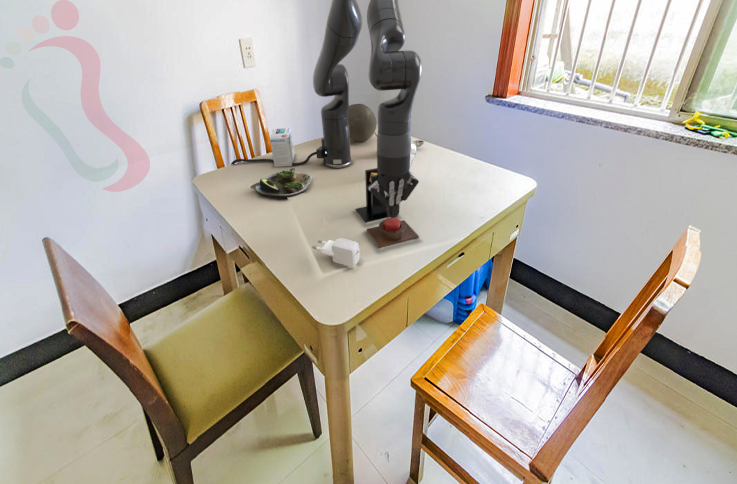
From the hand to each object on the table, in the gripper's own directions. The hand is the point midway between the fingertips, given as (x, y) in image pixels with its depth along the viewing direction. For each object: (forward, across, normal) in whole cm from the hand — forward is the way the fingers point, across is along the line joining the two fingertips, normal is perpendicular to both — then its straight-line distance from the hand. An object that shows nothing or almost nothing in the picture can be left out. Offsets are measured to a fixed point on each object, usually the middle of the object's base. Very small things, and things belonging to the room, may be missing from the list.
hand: (392, 216), depth 94 cm
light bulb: (+7, -20, -33) cm, 40 cm away
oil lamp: (+7, -27, -51) cm, 58 cm away
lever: (-2, -5, -12) cm, 13 cm away
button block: (+7, 0, 0) cm, 7 cm away
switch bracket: (+6, -1, -12) cm, 14 cm away
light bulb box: (+6, +16, -62) cm, 65 cm away
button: (+3, 0, 0) cm, 3 cm away
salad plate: (+7, +20, -40) cm, 46 cm away
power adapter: (+7, +16, +3) cm, 18 cm away
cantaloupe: (+6, -17, -69) cm, 72 cm away
